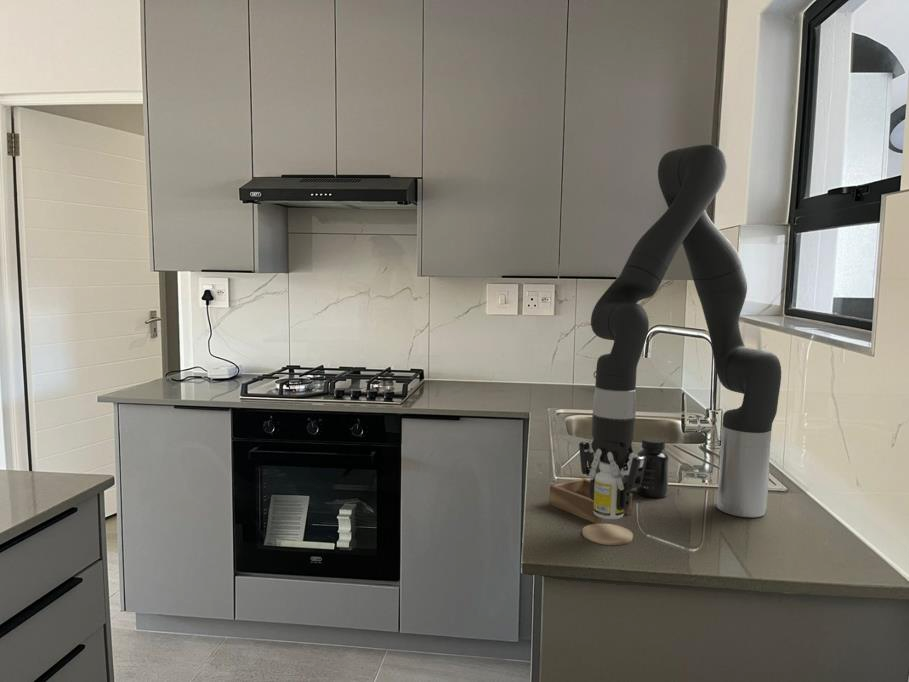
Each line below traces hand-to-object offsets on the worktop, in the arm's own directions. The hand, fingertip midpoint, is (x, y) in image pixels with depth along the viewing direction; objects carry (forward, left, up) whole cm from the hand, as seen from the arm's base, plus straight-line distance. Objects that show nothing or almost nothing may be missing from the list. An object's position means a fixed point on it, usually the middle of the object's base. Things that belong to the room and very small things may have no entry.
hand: (608, 503), depth 129 cm
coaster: (0, 0, -6) cm, 6 cm away
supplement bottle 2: (-27, -11, -6) cm, 30 cm away
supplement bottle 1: (0, 0, -2) cm, 2 cm away
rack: (-8, -11, -6) cm, 15 cm away
